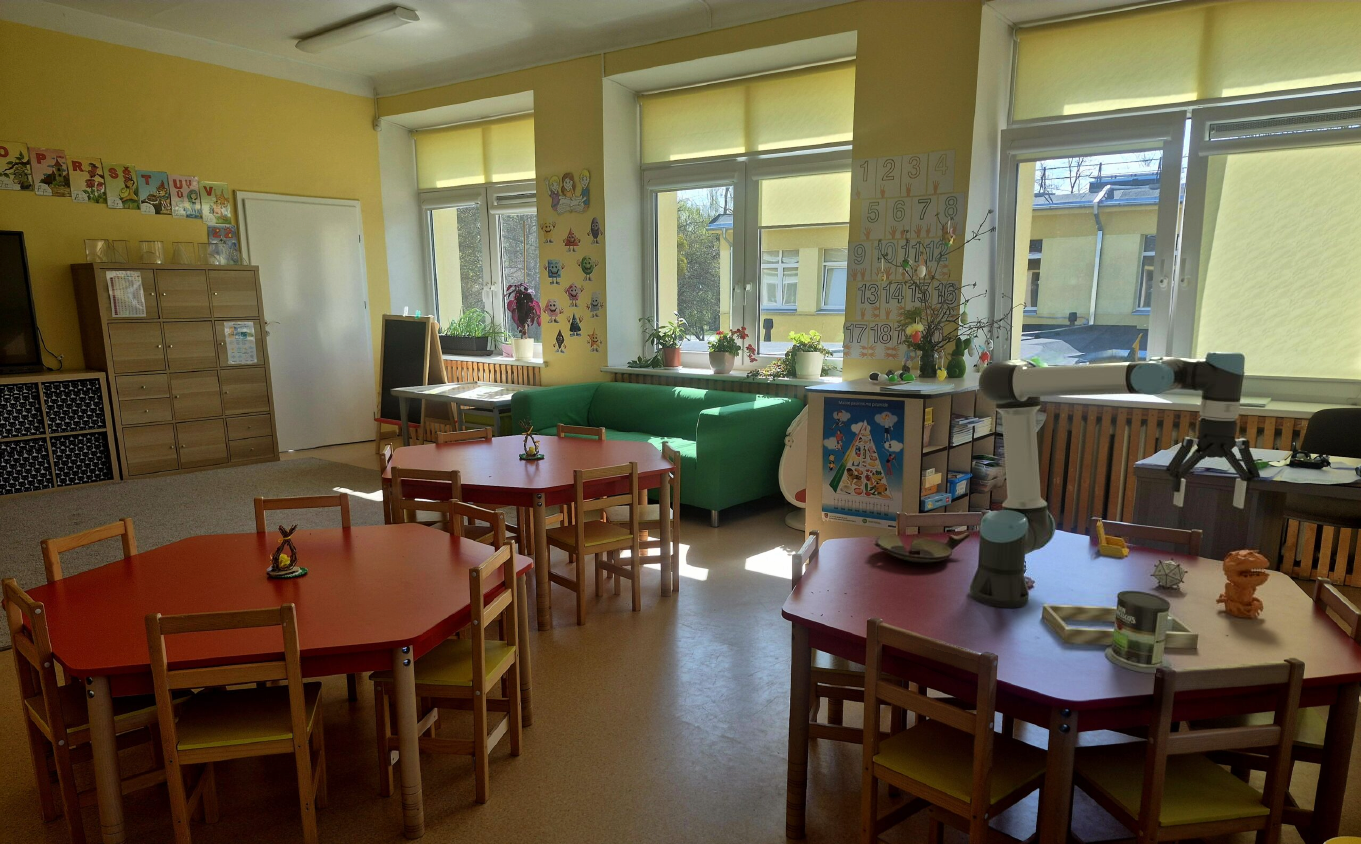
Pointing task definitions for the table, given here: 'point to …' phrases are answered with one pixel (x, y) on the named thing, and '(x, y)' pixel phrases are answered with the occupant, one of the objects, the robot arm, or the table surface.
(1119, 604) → the coffee can
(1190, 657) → the table surface
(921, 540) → the oil lamp
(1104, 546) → the yellow toy chair
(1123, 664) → the trivet
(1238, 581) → the toy dinosaur
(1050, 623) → the frame
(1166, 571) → the game die
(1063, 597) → the table surface
